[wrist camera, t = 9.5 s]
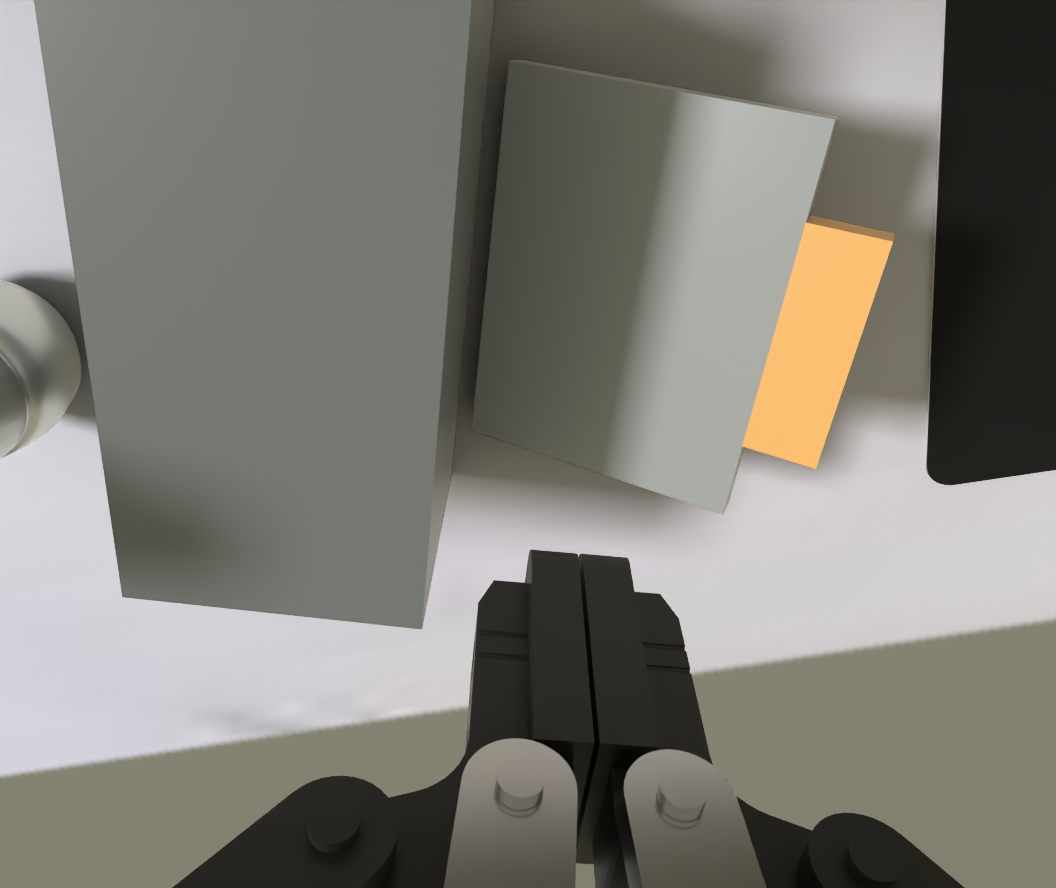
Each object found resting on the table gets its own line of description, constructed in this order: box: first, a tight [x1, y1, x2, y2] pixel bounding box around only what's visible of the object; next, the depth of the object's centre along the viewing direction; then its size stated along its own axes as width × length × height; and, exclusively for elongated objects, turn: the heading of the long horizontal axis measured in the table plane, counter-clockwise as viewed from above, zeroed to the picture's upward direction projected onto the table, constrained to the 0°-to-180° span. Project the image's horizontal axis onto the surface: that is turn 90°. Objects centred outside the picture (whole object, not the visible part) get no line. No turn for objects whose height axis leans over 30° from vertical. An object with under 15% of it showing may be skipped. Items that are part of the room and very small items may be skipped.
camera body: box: [34, 0, 495, 629], centre depth 27 cm, size 22×10×10 cm, turn 173°
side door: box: [471, 60, 896, 515], centre depth 30 cm, size 14×1×13 cm
